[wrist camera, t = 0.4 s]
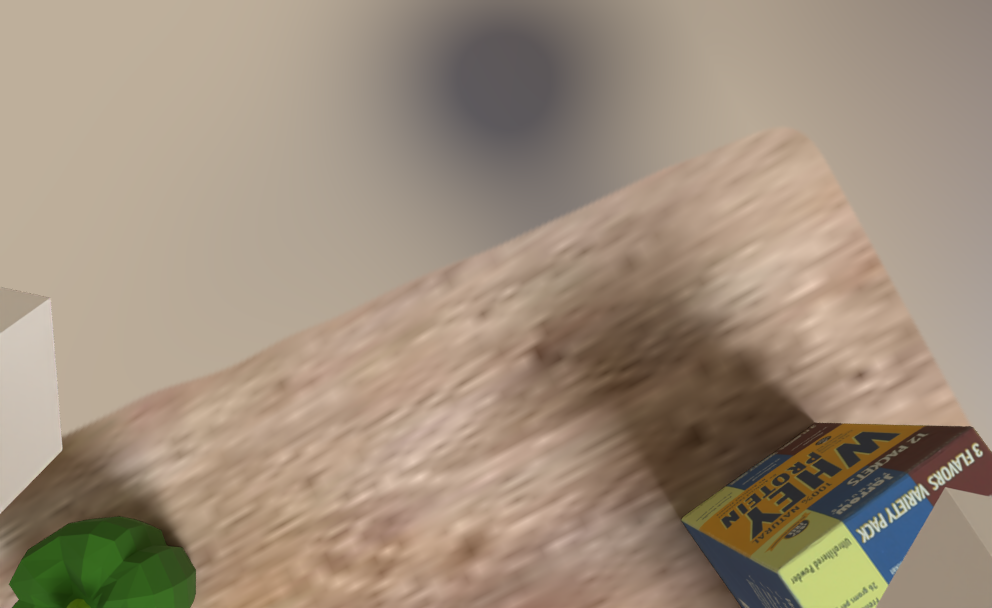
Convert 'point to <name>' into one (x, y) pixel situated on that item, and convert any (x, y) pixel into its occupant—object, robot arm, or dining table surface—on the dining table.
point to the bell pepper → (105, 568)
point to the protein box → (834, 511)
